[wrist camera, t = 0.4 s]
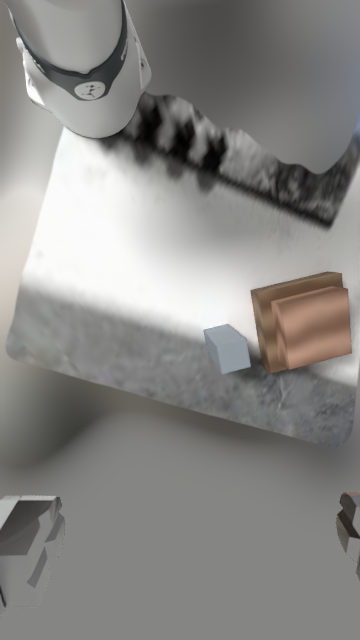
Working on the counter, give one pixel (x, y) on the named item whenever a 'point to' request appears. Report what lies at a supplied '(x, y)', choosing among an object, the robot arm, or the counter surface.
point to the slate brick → (227, 348)
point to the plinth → (267, 316)
